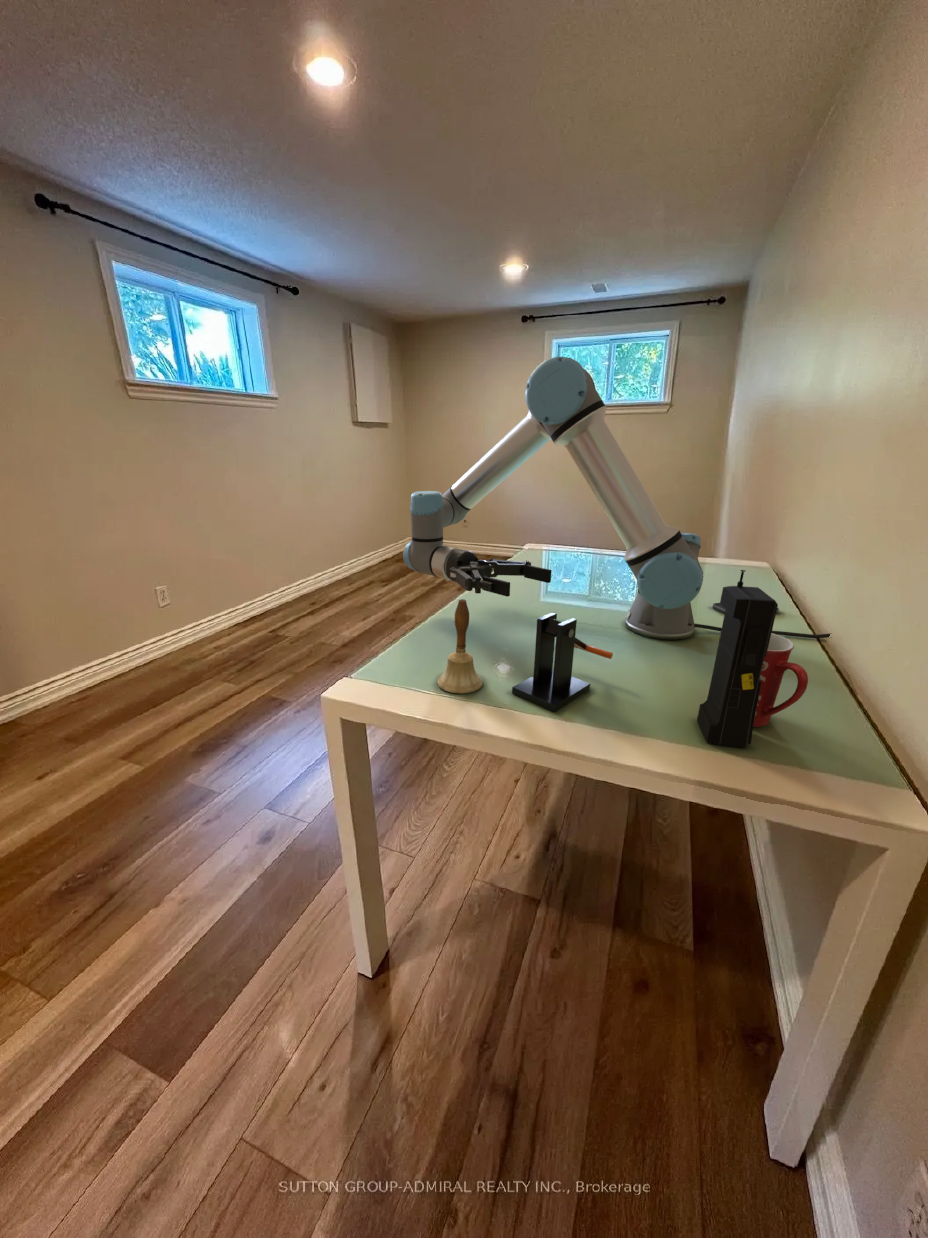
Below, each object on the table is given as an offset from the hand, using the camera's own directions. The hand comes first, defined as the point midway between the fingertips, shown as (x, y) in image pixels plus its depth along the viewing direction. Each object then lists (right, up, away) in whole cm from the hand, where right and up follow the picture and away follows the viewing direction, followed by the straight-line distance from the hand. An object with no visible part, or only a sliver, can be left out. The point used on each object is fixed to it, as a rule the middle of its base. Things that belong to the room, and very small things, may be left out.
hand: (530, 582), depth 98 cm
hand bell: (-14, -19, -8) cm, 25 cm away
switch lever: (+5, -12, -11) cm, 17 cm away
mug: (+33, -24, -20) cm, 45 cm away
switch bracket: (+2, -20, -11) cm, 23 cm away
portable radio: (+26, -25, -24) cm, 43 cm away
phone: (+61, -5, +32) cm, 69 cm away
